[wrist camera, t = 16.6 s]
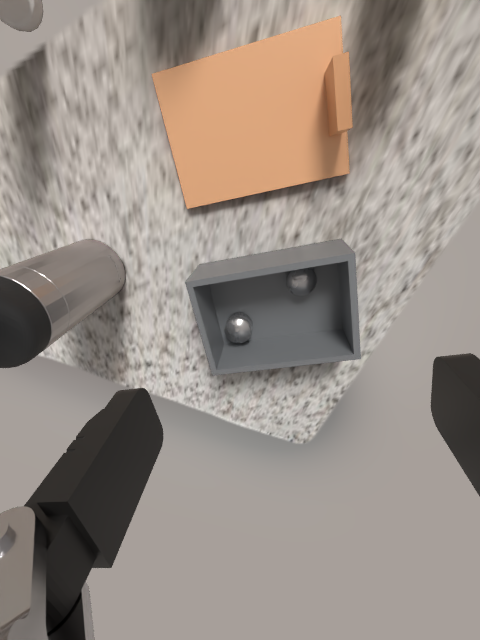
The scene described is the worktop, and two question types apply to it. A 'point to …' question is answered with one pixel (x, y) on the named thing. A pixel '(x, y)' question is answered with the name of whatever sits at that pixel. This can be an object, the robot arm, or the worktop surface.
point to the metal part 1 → (238, 327)
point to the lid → (259, 115)
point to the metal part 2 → (301, 281)
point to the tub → (278, 308)
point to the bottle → (21, 14)
